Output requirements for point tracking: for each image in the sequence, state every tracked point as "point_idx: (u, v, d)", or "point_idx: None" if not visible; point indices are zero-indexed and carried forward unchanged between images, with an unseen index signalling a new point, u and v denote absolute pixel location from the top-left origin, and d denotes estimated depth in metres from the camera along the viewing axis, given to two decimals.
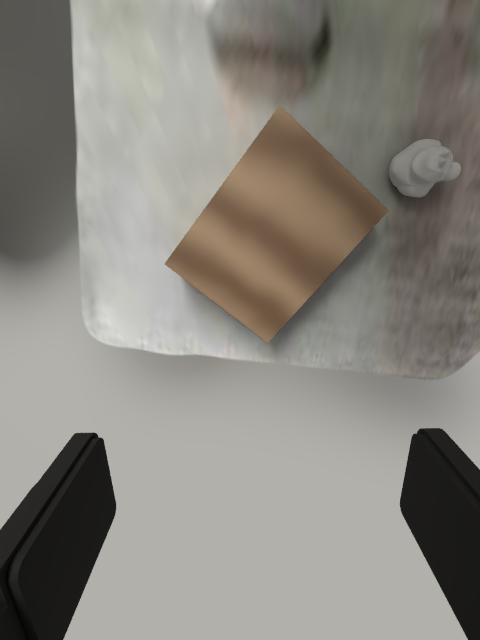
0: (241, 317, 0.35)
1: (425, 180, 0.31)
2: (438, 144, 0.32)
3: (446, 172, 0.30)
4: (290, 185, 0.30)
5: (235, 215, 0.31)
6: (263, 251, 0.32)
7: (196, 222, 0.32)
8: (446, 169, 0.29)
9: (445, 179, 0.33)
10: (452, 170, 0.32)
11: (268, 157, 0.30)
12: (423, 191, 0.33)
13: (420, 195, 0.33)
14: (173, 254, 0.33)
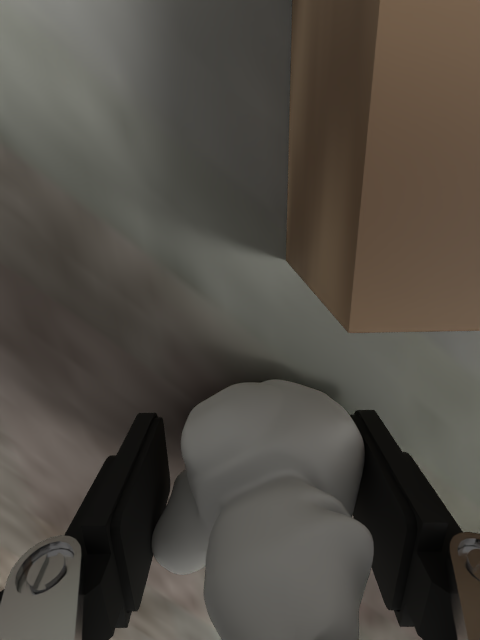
0: None
1: (269, 542, 0.06)
2: None
3: None
4: None
5: None
6: None
7: None
8: None
9: (175, 521, 0.09)
10: (186, 563, 0.08)
11: None
12: (202, 455, 0.08)
13: (195, 435, 0.08)
14: None
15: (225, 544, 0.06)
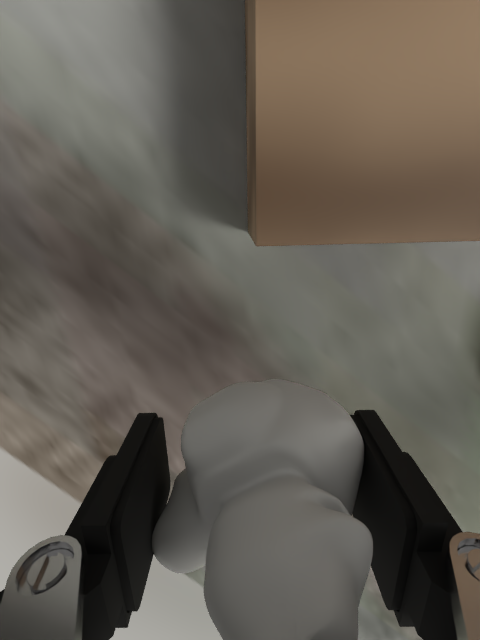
0: None
1: (269, 541, 0.06)
2: None
3: None
4: None
5: None
6: None
7: None
8: None
9: (175, 520, 0.09)
10: (186, 561, 0.08)
11: None
12: (202, 454, 0.08)
13: (195, 434, 0.08)
14: None
15: (225, 542, 0.06)
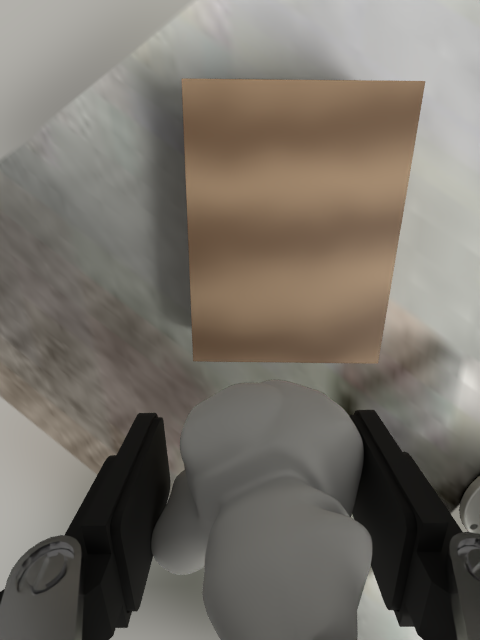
0: (254, 89, 0.19)
1: (268, 543, 0.06)
2: None
3: None
4: (315, 308, 0.23)
5: (358, 230, 0.21)
6: (292, 214, 0.21)
7: (405, 182, 0.20)
8: None
9: (174, 522, 0.09)
10: (185, 563, 0.08)
11: (359, 315, 0.23)
12: (201, 456, 0.08)
13: (194, 435, 0.08)
14: (417, 108, 0.19)
15: (224, 544, 0.06)
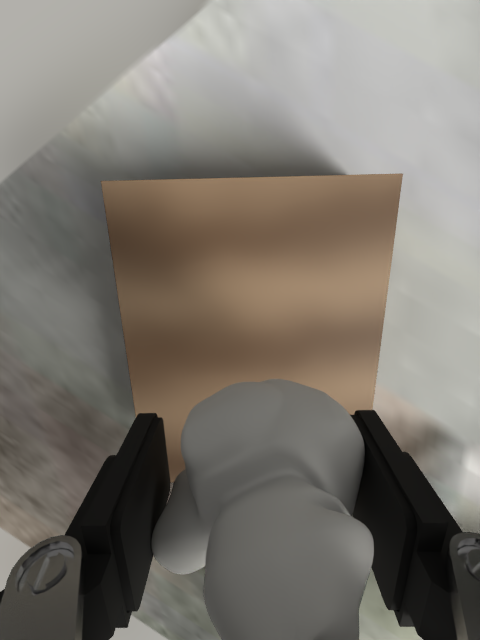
0: (190, 189, 0.15)
1: (269, 542, 0.06)
2: None
3: None
4: None
5: (329, 341, 0.17)
6: (249, 326, 0.17)
7: (385, 287, 0.16)
8: None
9: (175, 521, 0.09)
10: (186, 562, 0.08)
11: None
12: (201, 455, 0.08)
13: (195, 434, 0.08)
14: (394, 205, 0.15)
15: (225, 543, 0.06)
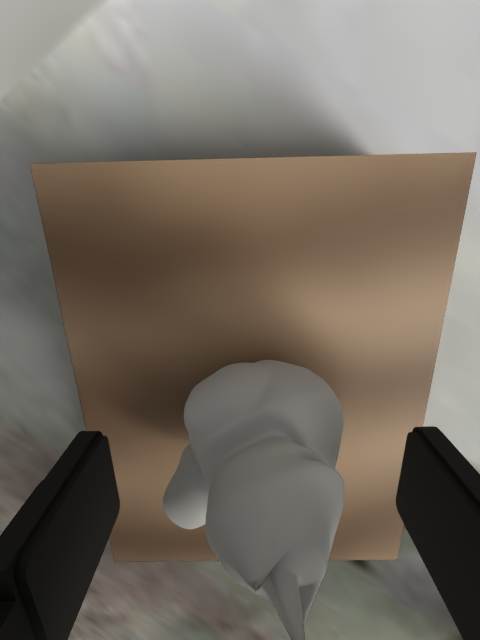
0: (163, 176, 0.10)
1: (255, 482, 0.07)
2: None
3: (226, 563, 0.07)
4: None
5: (360, 387, 0.13)
6: None
7: (440, 316, 0.12)
8: None
9: (182, 483, 0.10)
10: (193, 516, 0.10)
11: (366, 502, 0.15)
12: (201, 423, 0.09)
13: (195, 407, 0.10)
14: (461, 199, 0.10)
15: (221, 488, 0.08)
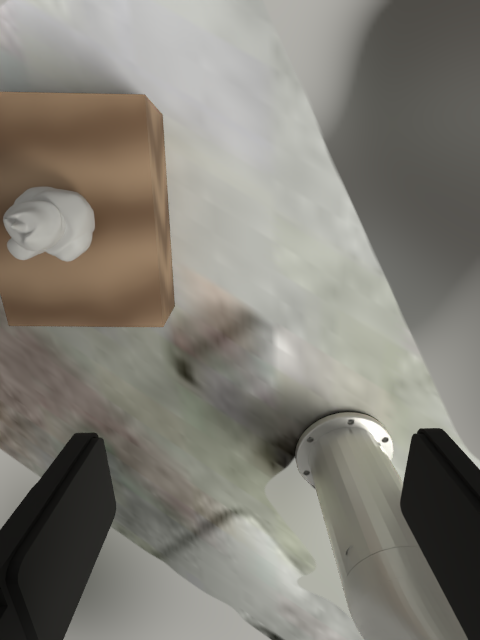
0: (7, 99, 0.23)
1: (19, 202, 0.20)
2: (62, 256, 0.24)
3: (5, 225, 0.20)
4: (100, 280, 0.28)
5: (119, 215, 0.26)
6: None
7: (149, 176, 0.25)
8: (9, 227, 0.20)
9: None
10: (17, 246, 0.23)
11: (138, 287, 0.28)
12: (18, 203, 0.22)
13: (17, 198, 0.23)
14: (144, 116, 0.23)
15: None
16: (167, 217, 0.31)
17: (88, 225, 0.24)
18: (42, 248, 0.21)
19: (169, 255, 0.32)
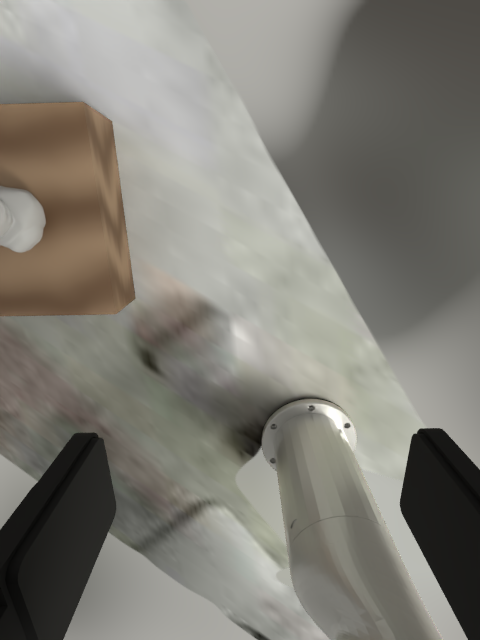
0: None
1: None
2: (13, 247, 0.26)
3: None
4: (56, 272, 0.30)
5: (69, 211, 0.29)
6: None
7: (92, 174, 0.28)
8: None
9: None
10: None
11: (90, 276, 0.30)
12: None
13: None
14: (84, 121, 0.26)
15: None
16: (121, 214, 0.34)
17: (36, 219, 0.26)
18: None
19: (125, 249, 0.35)
